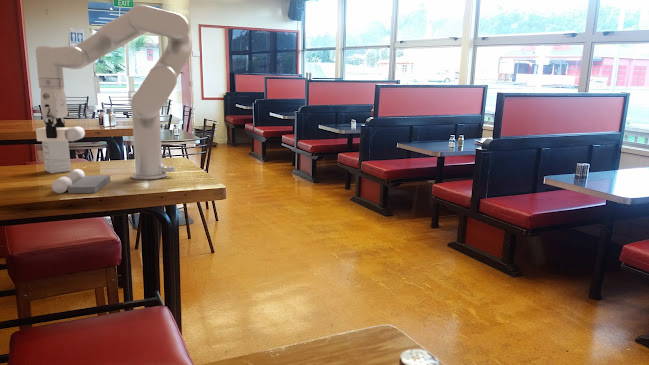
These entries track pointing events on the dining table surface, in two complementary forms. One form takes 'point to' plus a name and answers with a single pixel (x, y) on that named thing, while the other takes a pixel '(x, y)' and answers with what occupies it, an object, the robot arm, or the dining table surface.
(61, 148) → the supplement box
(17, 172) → the dining table surface
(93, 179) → the fixed leaf
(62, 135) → the cream hinge flap
